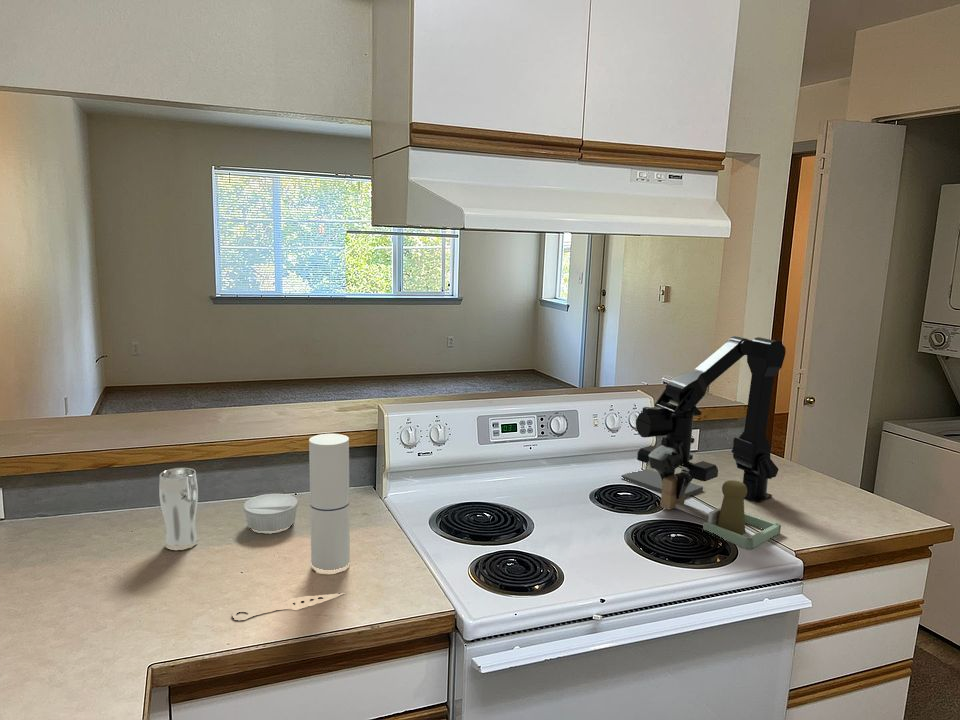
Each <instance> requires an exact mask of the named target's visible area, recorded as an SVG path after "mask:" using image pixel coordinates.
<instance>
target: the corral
mask: <svg viewBox="0 0 960 720" xmlns="http://www.w3.org/2000/svg"><path fill="white" fill-rule="evenodd" d="M744 515H745V524H746V523H747V525H749V524H750V525H749V526H751V527H752V526H753V527H755V528H758V529H761V528H762V529H761V531H759V532H757V533H755V534H753V535H751V536H749V537H748V536H745V535H744V534H743V535H740V534H738V533H735V532H732V531H729V530H727V529H724V528H721V527H718V526H717V525H713V524H710V523H708V521H705V522H703V523H702V530H703V529H704V530H707V531H709V532H711V533H714V534H716V535H718V536H720V537H722V538H724V539H725V540H724V541H726V540H727V542H729V543H732V544H735V545H737V546H739V547H742V548H745V549H747V550H752V549H754V548H755V547H757V546H760V545H761V544H763V543H765V542H767V541H769V540H771V539H773V538H774V537H776V536H778V535H780V534H781V529H782V527H781V526H782V525H781V524H779V523H777V522H774V521H770V520H768V519H765V518H762V517H759V516H756V515H753V514H750V513H747V512H745V511H744ZM763 529H765V530H763ZM779 533H780V534H779ZM777 534H778V535H777ZM775 535H776V536H775ZM773 536H774V537H773ZM772 537H773V538H772ZM770 538H771V539H770Z"/></svg>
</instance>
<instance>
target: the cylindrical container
mask: <svg viewBox="0 0 960 720" xmlns="http://www.w3.org/2000/svg"><path fill="white" fill-rule="evenodd" d="M308 448H309V449H308V450H309V451H308V452H309V453H308V455H309V456H308V457H309V460H308V461H309V506H310V507H309V509H310V510H309V511H310V552H311V553H310V558H311V559H310V561H311V562H310V563H312V565H313V566H314V567H316V568H319V569H323V570H334V569H335V570H336V569H339V568H343V567H345V566H346V565H348V563H349V562H350V563H351V560H350V559H351V557H350V555H351V553H350V552H351V551H350V550H351V549H350V548H351V547H350V539H351V538H350V437H349V436H347V435H345V434H341V433H320V434H317V435H313V436H311V437H310V438H309V439H308Z"/></svg>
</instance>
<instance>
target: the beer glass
mask: <svg viewBox="0 0 960 720" xmlns="http://www.w3.org/2000/svg"><path fill="white" fill-rule="evenodd" d="M198 486H199V485H198V480H197V472H196V470H195V469H194V468H189V467H175V468H170V469H167V470H163V471H162V472H160V473H159V487H158V488H159V491H158V492H159V494H158V495H159V503H160V509H161V512H162V516H163V520H164V523H165V532H166V535H165V542H166V543H167V544H168V545H171V546H182V545H187V544H190V543H192V542H194V541H196V539H198V536H197V532H196V517H197V510H198V503H199V502H198V501H199V488H198ZM165 542H164V543H165Z"/></svg>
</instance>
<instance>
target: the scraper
mask: <svg viewBox="0 0 960 720" xmlns="http://www.w3.org/2000/svg"><path fill="white" fill-rule="evenodd" d="M678 473H679V472H678ZM678 473H677V472H676V473H674V475H671V476H668V477H665V478H663V484H662V493H661V496H660V497H661V498H660V507H661V508H662V509H667V510H668V511H670V510H673V509H678V510H680V511H683V512H685V513H687V514H690V515H692V516H695V517H698V518H701V519H703V520H705V521H707V523H710V524H713V525H716V526H717V522H718V518H719V514H720V510H721V507H718V508H716V509H714V510H711V511H710V512H706V511H704V510H702V509H699V508H695V507H694V506H691V505H689V504H685V502H686V501H685V498H686V497H685V492H684V494H683V495H682V497H681V499H679V500H678V499H677V484H678V478H677V476H676V474H678ZM685 491H686V490H685Z"/></svg>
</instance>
